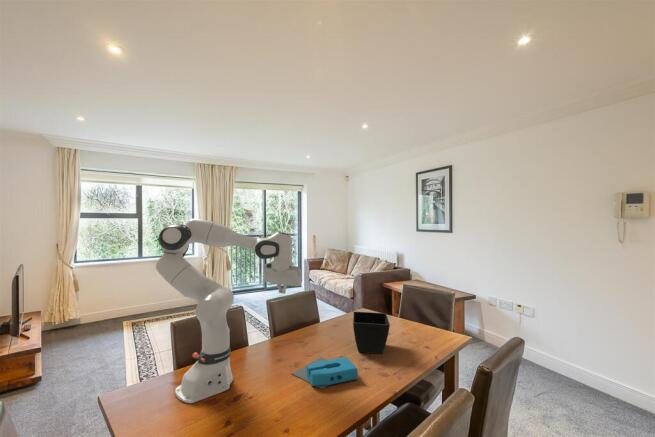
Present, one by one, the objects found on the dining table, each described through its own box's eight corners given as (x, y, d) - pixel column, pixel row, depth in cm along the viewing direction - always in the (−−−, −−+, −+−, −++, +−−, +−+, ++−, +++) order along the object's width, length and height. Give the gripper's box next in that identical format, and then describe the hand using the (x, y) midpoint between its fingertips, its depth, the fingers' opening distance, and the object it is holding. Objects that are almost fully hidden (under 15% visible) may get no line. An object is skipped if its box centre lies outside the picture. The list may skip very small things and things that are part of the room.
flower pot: (386, 341, 165) (386, 312, 165) (390, 357, 146) (390, 324, 146) (353, 340, 167) (353, 311, 167) (352, 355, 148) (353, 322, 148)
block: (313, 389, 117) (357, 379, 124) (313, 377, 117) (357, 368, 124) (305, 374, 128) (345, 366, 136) (305, 363, 129) (345, 356, 136)
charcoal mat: (322, 389, 118) (322, 388, 118) (291, 374, 129) (291, 373, 129) (349, 369, 134) (349, 368, 134) (320, 357, 145) (320, 357, 145)
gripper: (304, 266, 140) (303, 294, 140) (269, 262, 148) (269, 289, 148) (297, 267, 134) (297, 297, 134) (262, 264, 142) (261, 292, 142)
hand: (282, 293), depth 141 cm, fingers closed
